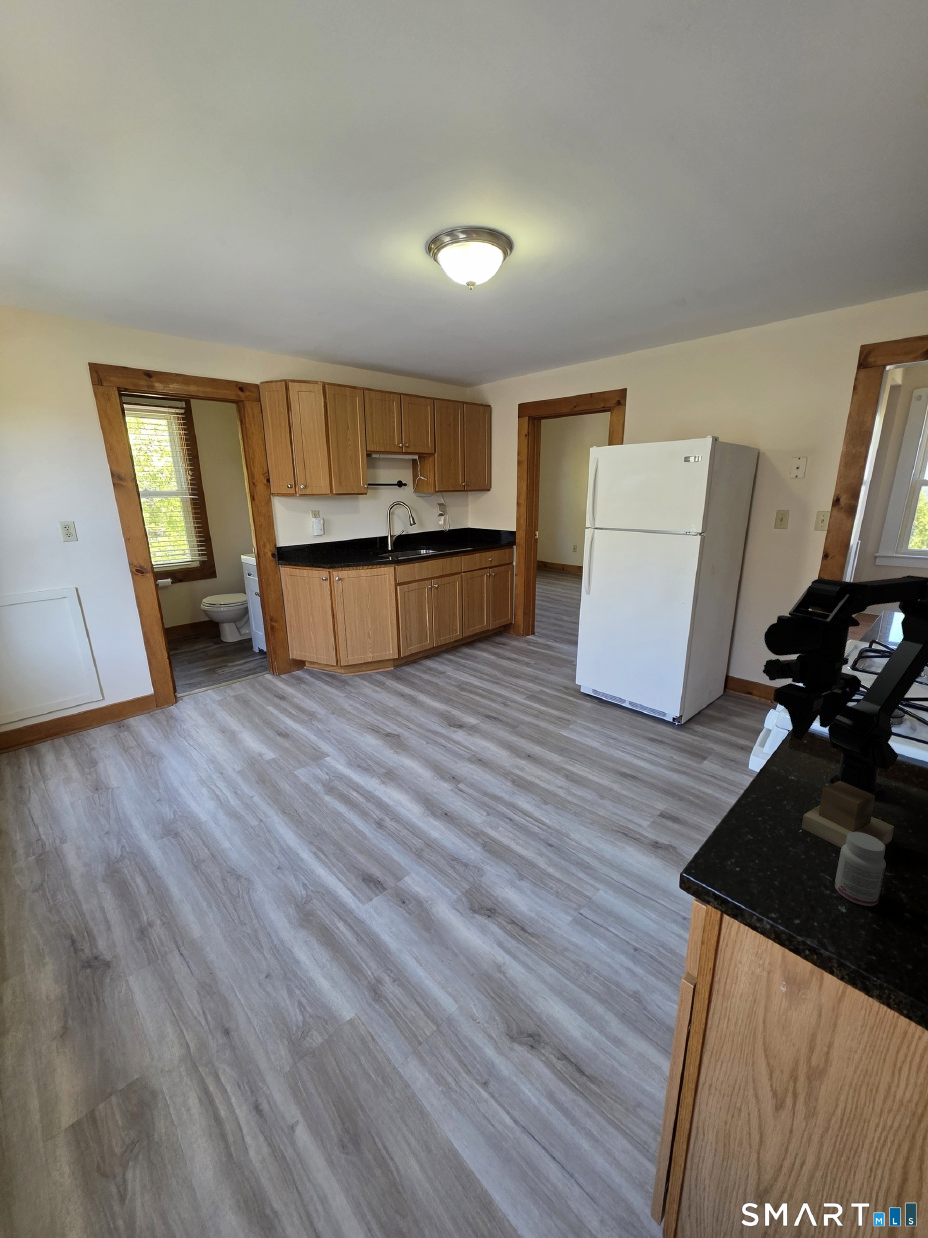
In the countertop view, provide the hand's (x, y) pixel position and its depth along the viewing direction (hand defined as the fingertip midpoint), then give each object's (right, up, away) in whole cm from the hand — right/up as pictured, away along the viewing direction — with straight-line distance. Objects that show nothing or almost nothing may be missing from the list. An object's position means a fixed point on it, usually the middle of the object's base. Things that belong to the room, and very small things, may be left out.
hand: (811, 733), depth 87 cm
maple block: (0, -15, -8) cm, 17 cm away
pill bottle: (-9, -18, -21) cm, 29 cm away
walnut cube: (-1, -12, -9) cm, 15 cm away
